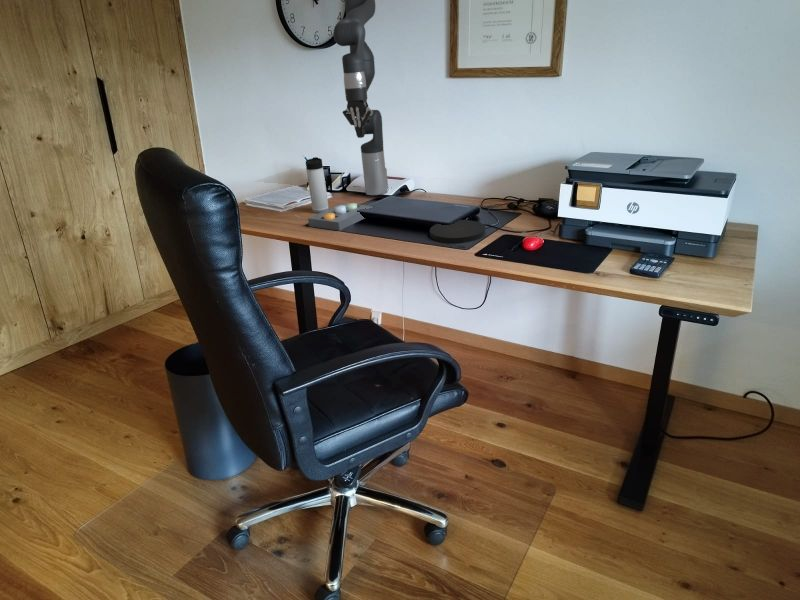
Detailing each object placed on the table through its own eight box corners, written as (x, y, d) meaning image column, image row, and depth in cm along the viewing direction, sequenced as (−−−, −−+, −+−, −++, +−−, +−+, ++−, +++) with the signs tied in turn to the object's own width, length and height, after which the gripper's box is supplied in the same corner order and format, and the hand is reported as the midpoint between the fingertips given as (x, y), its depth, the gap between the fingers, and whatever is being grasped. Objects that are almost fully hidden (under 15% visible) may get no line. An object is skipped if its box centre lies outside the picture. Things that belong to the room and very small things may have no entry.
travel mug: (330, 207, 219) (323, 156, 211) (327, 212, 214) (319, 160, 205) (315, 208, 220) (307, 157, 212) (311, 213, 214) (303, 161, 206)
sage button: (351, 211, 210) (350, 202, 209) (360, 212, 208) (358, 203, 207) (345, 214, 207) (343, 205, 206) (353, 215, 205) (352, 206, 204)
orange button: (329, 221, 201) (328, 212, 199) (338, 222, 199) (336, 213, 197) (322, 225, 198) (320, 215, 196) (331, 226, 196) (329, 216, 194)
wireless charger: (443, 223, 191) (443, 218, 190) (493, 228, 183) (493, 222, 182) (420, 241, 177) (420, 235, 176) (473, 246, 169) (473, 240, 168)
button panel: (343, 210, 214) (342, 203, 213) (373, 214, 207) (372, 206, 206) (309, 226, 200) (307, 218, 198) (339, 230, 192) (338, 222, 191)
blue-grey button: (340, 214, 205) (339, 204, 204) (349, 215, 203) (347, 205, 202) (333, 217, 202) (332, 207, 201) (342, 218, 200) (340, 208, 199)
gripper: (377, 84, 193) (381, 135, 200) (347, 85, 200) (352, 135, 207) (364, 87, 187) (369, 139, 195) (333, 88, 194) (340, 138, 202)
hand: (360, 137), depth 201 cm, fingers closed
